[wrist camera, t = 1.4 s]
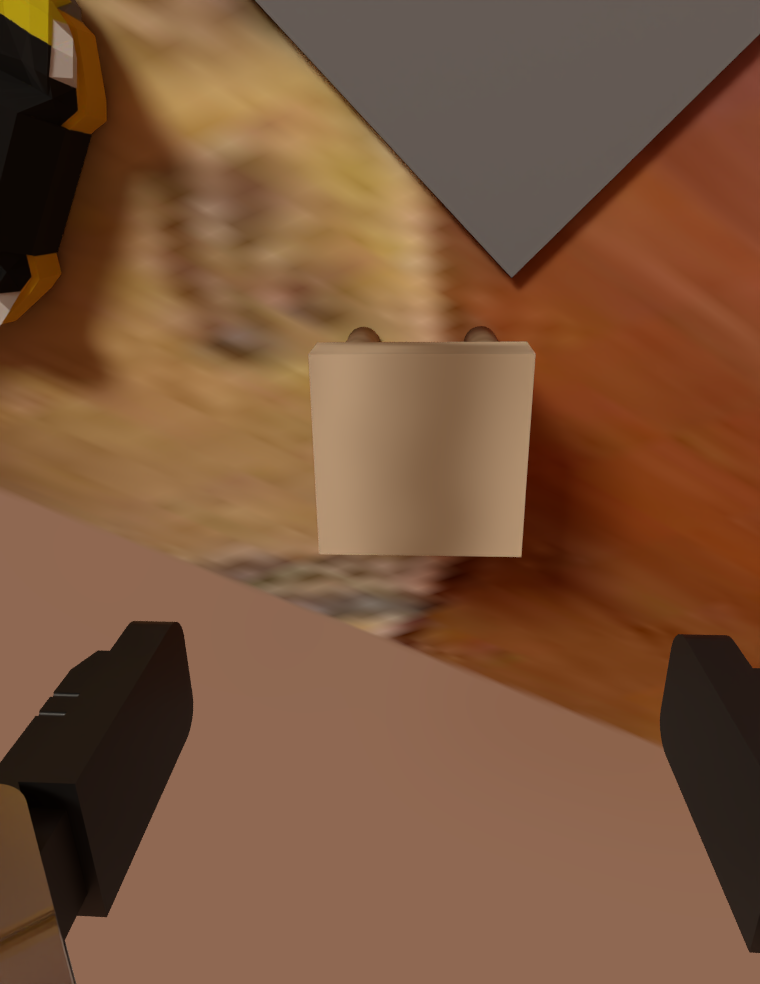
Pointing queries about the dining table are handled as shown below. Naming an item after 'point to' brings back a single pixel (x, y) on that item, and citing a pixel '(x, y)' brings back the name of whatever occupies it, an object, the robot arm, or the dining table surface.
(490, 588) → the dining table surface
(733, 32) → the mat
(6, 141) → the gaming controller
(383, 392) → the stool
